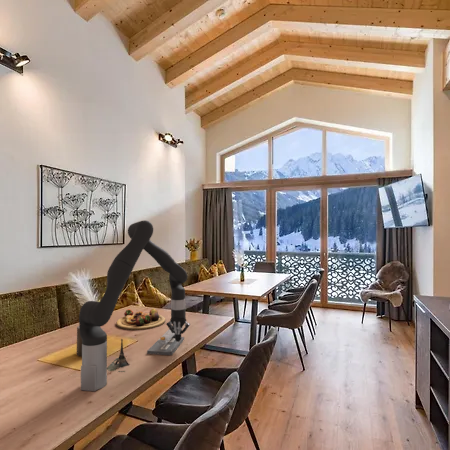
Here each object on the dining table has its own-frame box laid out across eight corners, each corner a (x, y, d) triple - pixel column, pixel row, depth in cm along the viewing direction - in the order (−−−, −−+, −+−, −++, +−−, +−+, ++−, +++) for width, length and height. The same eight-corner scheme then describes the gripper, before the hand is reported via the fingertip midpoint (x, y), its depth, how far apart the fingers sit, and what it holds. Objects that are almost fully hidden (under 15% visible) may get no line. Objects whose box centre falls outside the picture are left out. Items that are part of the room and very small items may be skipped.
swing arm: (165, 351, 155) (165, 338, 155) (157, 350, 155) (157, 337, 155) (178, 336, 176) (178, 325, 176) (171, 336, 176) (171, 324, 176)
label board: (172, 355, 154) (172, 351, 154) (147, 353, 155) (147, 350, 155) (184, 339, 175) (184, 336, 175) (162, 338, 177) (162, 335, 177)
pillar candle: (89, 357, 151) (90, 326, 151) (72, 356, 153) (72, 325, 153) (101, 350, 160) (101, 321, 161) (84, 348, 162) (85, 320, 163)
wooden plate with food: (108, 322, 210) (108, 310, 210) (150, 313, 231) (150, 302, 231) (129, 335, 186) (129, 321, 186) (174, 324, 207) (174, 311, 207)
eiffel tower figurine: (116, 358, 151) (116, 331, 151) (137, 359, 150) (137, 331, 151) (103, 373, 136) (103, 342, 136) (125, 373, 135) (125, 342, 136)
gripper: (163, 308, 159) (163, 342, 159) (187, 310, 156) (187, 344, 156) (169, 305, 166) (169, 337, 166) (192, 306, 163) (192, 339, 163)
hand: (178, 341), depth 161 cm, fingers closed
